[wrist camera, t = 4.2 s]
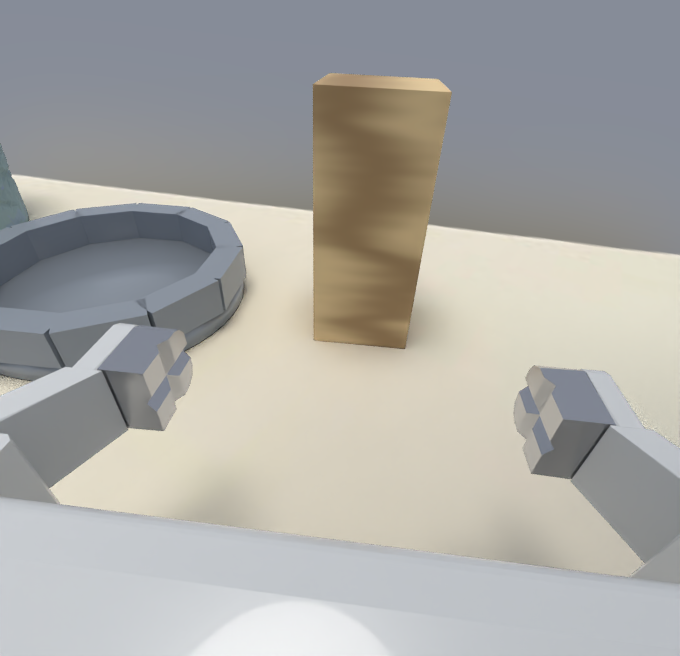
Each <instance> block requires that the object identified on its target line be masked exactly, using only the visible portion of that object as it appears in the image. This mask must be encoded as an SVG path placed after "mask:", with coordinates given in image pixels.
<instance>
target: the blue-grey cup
mask: <svg viewBox="0 0 680 656" xmlns="http://www.w3.org/2000/svg"><path fill="white" fill-rule="evenodd" d="M8 167H9V166H8V164H7V160H6V157H5V154H4V152H3V150H2V146H1V144H0V230H2V229H4V228H6V227H8V228H11V227H10V226H13V225H16V224H20V223H24V222H28V220H29V217H28V212H27V210H26V207H25V205H24V202H23V200H22V198H21V195H20V193H19V191H18V187H17V185H16V183H15V181H14V179H13V178H12V177H11V172H10V171H9V170H8Z"/></svg>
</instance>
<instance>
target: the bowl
mask: <svg viewBox="0 0 680 656" xmlns="http://www.w3.org/2000/svg"><path fill="white" fill-rule="evenodd" d="M10 227H11V228H8V227H6V228H4V229H2V230H0V374H3V375H6V376H9V377H12V378H18V379H24V380H30V381H35V380H37V379H39V378H42V377H44V376H46V375H48V374H51V373H53V372H55V371H57V370H60V369H62V368H64V367H71V368H72V367H73V366H74V365H75V364H76V363H77V362H78V361H79V360H80V359H81V358H82V357H83V356H84V355H85V354H86V353H87V352H88V351H89V350H90V349H91V348H92V346H93V345H94V344H95V343H96V342H97V341H98V340H99V339H100V338H101V337H102V336H103V335H104V334H105V333H106V332H107V331H108V330H109V329H110V328H111V327H112V326H113V325H115V324H118V323H124V324H132V325H143V326H152V327H160V328H168V329H176V330H180V331H182V332H183V333H184V335H185V339H186V342H187V344H186V346H185V347H184V349H183V351H185V350H187V349H189V348H191V347H193V346H195V345H196V344H198V343H200V342H201V341H203V340H204V339H206V338H207V337H209V336H210V335H212V334H213V333H214V332H215V331H217V330H218V329H219V328H220V327H221V326H223V325H224V324H225V323H226V322H227V321H228V319H229V318H230V317H231V316H232V315H233V314H234V312H235V311H236V309H237V308H238V306H239V304H240V302H241V300H242V297H243V292H244V279H245V277H246V269H245V260H244V252H243V245H242V243H241V242H240V240H239V238H238V236H237V234H236V233H235V231H234V229H233V227H232V225H231V224H230V222H228V221H226V220H224V219H221V218H219V217H216V216H213V215H211V214H208V213H205V212H203V211H200V210H197V209H195V208H190V207H182V206H169V205H157V204H144V203H139V204H136V203H133V204H123V205H113V206H103V207H92V208H82V209H76V211H74V210H70V211H66V212H62V213H58V214H55V215H51V216H47V217H43V218H39V219H35V220H32V221H28V222H24V223H20V224H16V225H13V226H10Z"/></svg>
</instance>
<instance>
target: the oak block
mask: <svg viewBox="0 0 680 656" xmlns="http://www.w3.org/2000/svg"><path fill="white" fill-rule="evenodd" d="M451 94H452V92H451V91H450V90H449V89H448V88H447V87H446V86H445V85H444V84H443V83H442V82H441V81H439V80H438V79H426V78H408V77H388V76H372V75H354V74H336V73H329V74H328V75H326V76H325V77H323V78H322V79H320V80H319V81H317V82H316V83H314V84H313V291H314V340H318V341H328V342H338V343H349V344H359V345H370V346H380V347H390V348H401V349H405V345H406V340H407V334H408V329H409V323H410V318H411V312H412V307H413V302H414V296H415V291H416V285H417V280H418V274H419V269H420V263H421V258H422V252H423V247H424V241H425V236H426V230H427V225H428V219H429V214H430V208H431V203H432V198H433V192H434V187H435V181H436V175H437V170H438V165H439V159H440V154H441V148H442V143H443V137H444V132H445V126H446V121H447V116H448V109H449V105H450V99H451Z"/></svg>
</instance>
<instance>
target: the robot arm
mask: <svg viewBox="0 0 680 656" xmlns="http://www.w3.org/2000/svg"><path fill="white" fill-rule="evenodd" d="M186 344H187V342H186V339H185V335H184V333H183V332H182V331H180V330H176V329H168V328H160V327H152V326H143V325H132V324H124V323H118V324H115V325H113V326H112V327H111V328H110V329H109V330H108V331H107V332H106V333H105V334H104V335H103V336H102V337H101V338H100V339H99V340H98V341H97V342H96V343H95V344H94V345H93V346H92V348H91V349H90V350H89V351H88V352H87V353H86V354H85V355H84V356H83V357H82V358H81V359H80V360H79V361H78V362H77V363H76V364H75V365H74V366H73V367H72V368H71V367H64V368H62V369H60V370H57V371H55V372H53V373H51V374H48V375H46V376H44V377H42V378H39V379H37V380H35V381H32V382H30V383H28V384H26V385H23V386H21V387H19V388H17V389H14V390H12V391H10V392H8V393H5V394H3V395H1V396H0V656H680V448H678V447H677V446H676V445H674V444H673V443H671V442H670V441H668V440H667V439H665V438H664V437H662V436H661V435H660V434H658V433H657V432H655V431H654V430H649V429H645V428H644V426H643V425H642V423H641V422H640V420H639V419H638V417H637V416H636V414H635V413H634V411H633V410H632V408H631V406H630V405H629V403H628V402H627V400H626V399H625V397H624V396H623V394H622V393H621V391H620V390H619V388H618V386H617V385H616V383H615V382H614V380H613V379H612V377H611V376H610V375H609V374H608V373H606V372H605V371H596V370H583V369H580V370H577V369H567V368H556V367H545V366H535V365H534V366H533V367H532V368H531V369H530V370H529V371H528V373H527V375H526V378H525V379H526V381H527V384H528V386H527V387H526V388H524V389H523V390H521V391H519V393H518V395H517V398H516V400H515V405H514V421H515V425H516V429H517V432H519V433H520V434H521V435H522V436H523V437H524V438H525V439H526V442H525V444H524V446H523V451H524V454H525V457H526V460H527V463H528V466H529V469H530V472H531V474H537V475H544V476H551V477H558V478H565V479H572V480H571V482H572V483H573V484H574V485H575V487H576V488H577V489H578V490H579V491H580V492H581V493H582V494H583V495H584V497H585V498H586V499H587V500H588V501H589V502H590V503H591V504H592V505H593V506H594V508H595V509H596V510H597V511H598V512H599V513H600V514H601V515H602V516H603V518H604V519H605V520H606V521H607V522H608V523H609V524H610V525H611V526H612V527H613V529H614V530H615V531H616V532H617V533H618V534H619V535H620V536H621V537H622V539H623V540H624V541H625V542H626V543H627V544H628V545H629V546H630V547H631V548H632V550H633V551H634V552H635V553H636V554H637V555H638V556H639V557H640V558H641V560H642V561H643V562H644V563H645V564H644V565H642V566H641V567H640V568H639V569H638V570H636V571H635V572H634V573H633V574H632V575H631V576H630V577H622V576H614V575H606V574H599V573H591V572H583V571H575V570H568V569H560V568H552V567H544V566H536V565H529V564H521V563H513V562H505V561H498V560H490V559H482V558H474V557H467V556H459V555H451V554H443V553H436V552H428V551H420V550H412V549H405V548H397V547H389V546H381V545H374V544H366V543H358V542H350V541H342V540H335V539H327V538H319V537H311V536H303V535H295V534H288V533H280V532H272V531H264V530H256V529H248V528H240V527H233V526H225V525H217V524H209V523H202V522H194V521H186V520H178V519H171V518H163V517H155V516H147V515H139V514H132V513H124V512H116V511H108V510H101V509H93V508H85V507H77V506H70V505H62V504H60V502H59V501H58V500H57V498H56V497H55V496H54V494H53V493H52V492H51V490H50V489H49V488H50V487H52V486H53V485H54V484H56V483H57V482H58V481H60V480H61V479H63V478H64V477H65V476H67V475H68V474H69V473H71V472H72V471H73V470H75V469H76V468H77V467H79V466H80V465H81V464H83V463H84V462H86V461H87V460H88V459H90V458H91V457H92V456H94V455H95V454H96V453H98V452H99V451H100V450H102V449H103V448H104V447H106V446H107V445H108V444H110V443H111V442H113V441H114V440H115V439H117V438H118V437H119V436H121V435H122V434H123V433H125V432H126V431H127V430H128V428H134V429H145V430H156V431H164V430H165V428H166V427H167V425H168V423H169V421H170V420H171V418H172V416H173V414H174V413H175V411H176V405H175V402H174V401H176V400H177V399H179V398H181V397H182V396H184V395H185V394H186V392H187V390H188V388H189V386H190V383H191V378H192V362H191V358H190V357H189V356H188V355H187V354H186V353H185V352H184V351H183V349H184V347H185V346H186Z"/></svg>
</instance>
